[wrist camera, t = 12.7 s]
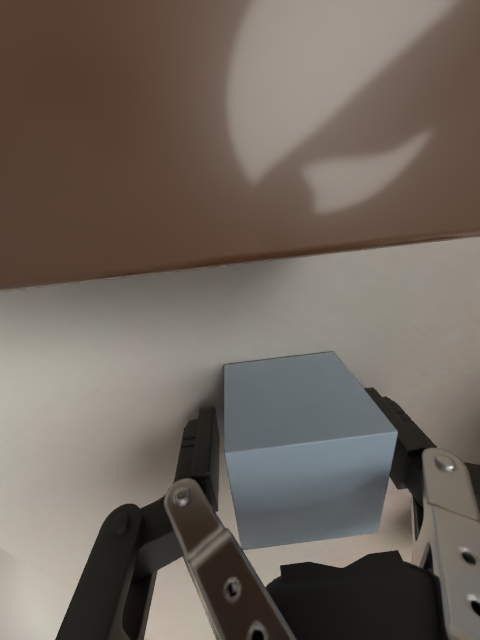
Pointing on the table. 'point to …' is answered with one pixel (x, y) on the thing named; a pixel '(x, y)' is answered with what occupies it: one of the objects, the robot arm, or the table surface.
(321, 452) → the small box
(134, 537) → the robot arm
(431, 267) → the table surface
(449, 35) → the storage box
